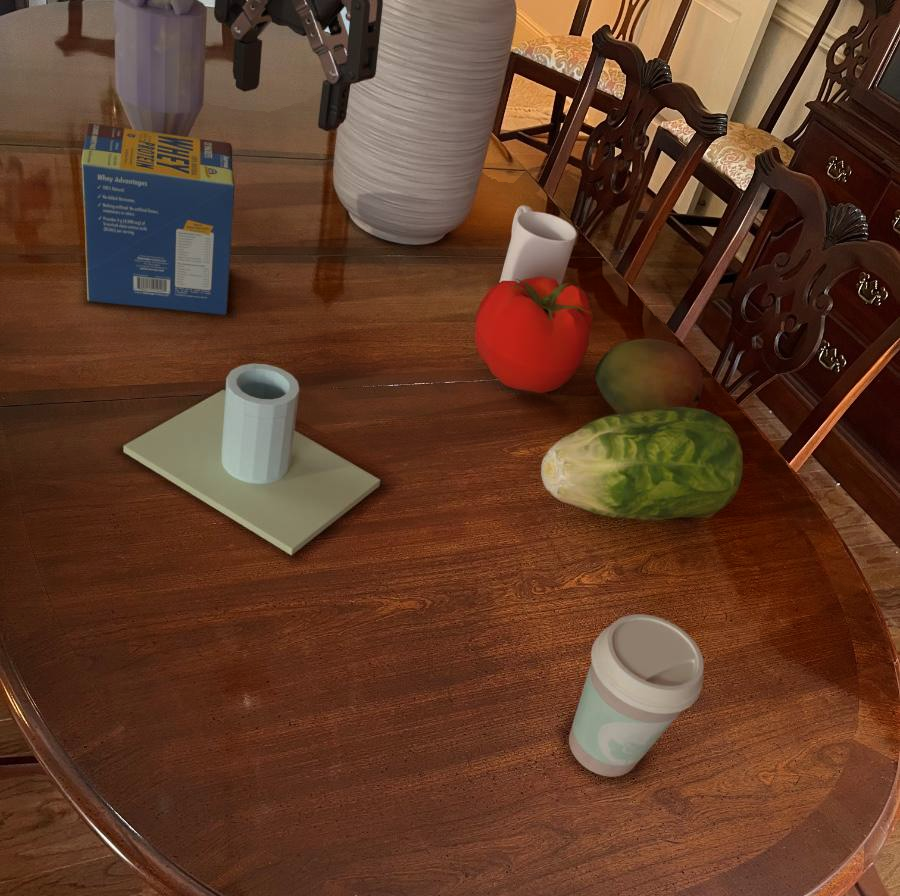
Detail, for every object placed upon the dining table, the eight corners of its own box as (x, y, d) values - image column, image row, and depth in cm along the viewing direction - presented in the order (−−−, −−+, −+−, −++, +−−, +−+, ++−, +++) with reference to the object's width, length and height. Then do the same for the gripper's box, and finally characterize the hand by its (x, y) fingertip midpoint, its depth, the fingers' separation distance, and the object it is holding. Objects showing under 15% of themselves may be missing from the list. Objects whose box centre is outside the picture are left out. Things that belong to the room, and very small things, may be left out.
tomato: (494, 412, 111) (521, 320, 103) (448, 343, 120) (470, 252, 111) (594, 407, 116) (627, 319, 108) (543, 341, 125) (570, 254, 117)
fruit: (664, 463, 111) (698, 389, 104) (566, 415, 114) (593, 339, 107) (695, 420, 119) (729, 348, 112) (603, 376, 122) (630, 303, 115)
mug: (562, 317, 130) (586, 243, 123) (508, 316, 127) (530, 239, 120) (529, 271, 138) (550, 198, 131) (477, 268, 135) (496, 193, 128)
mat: (123, 452, 93) (123, 445, 92) (222, 395, 102) (223, 389, 102) (291, 555, 88) (292, 549, 87) (379, 486, 98) (380, 479, 97)
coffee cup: (558, 786, 76) (608, 689, 68) (547, 700, 82) (592, 601, 74) (662, 796, 78) (723, 703, 70) (643, 711, 84) (698, 615, 76)
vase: (360, 175, 148) (400, -87, 125) (484, 221, 146) (548, -36, 123) (302, 220, 134) (335, -66, 111) (439, 272, 132) (501, -8, 109)
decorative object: (155, 226, 124) (156, -47, 103) (101, 192, 127) (91, -79, 107) (216, 209, 131) (229, -51, 110) (163, 176, 134) (165, -81, 113)
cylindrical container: (207, 461, 93) (211, 381, 87) (251, 433, 98) (258, 355, 91) (260, 493, 92) (268, 413, 86) (302, 463, 96) (313, 386, 90)
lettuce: (511, 476, 103) (541, 386, 96) (677, 469, 111) (717, 385, 103) (553, 552, 96) (589, 460, 88) (727, 538, 104) (774, 453, 96)
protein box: (92, 256, 116) (86, 121, 105) (226, 271, 120) (233, 142, 109) (85, 302, 109) (79, 162, 98) (228, 316, 113) (236, 183, 102)
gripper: (196, -159, 69) (189, 84, 81) (360, -93, 66) (329, 151, 77) (265, -159, 74) (249, 69, 86) (420, -97, 71) (383, 132, 82)
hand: (287, 108), depth 81 cm, fingers open, 8 cm apart
